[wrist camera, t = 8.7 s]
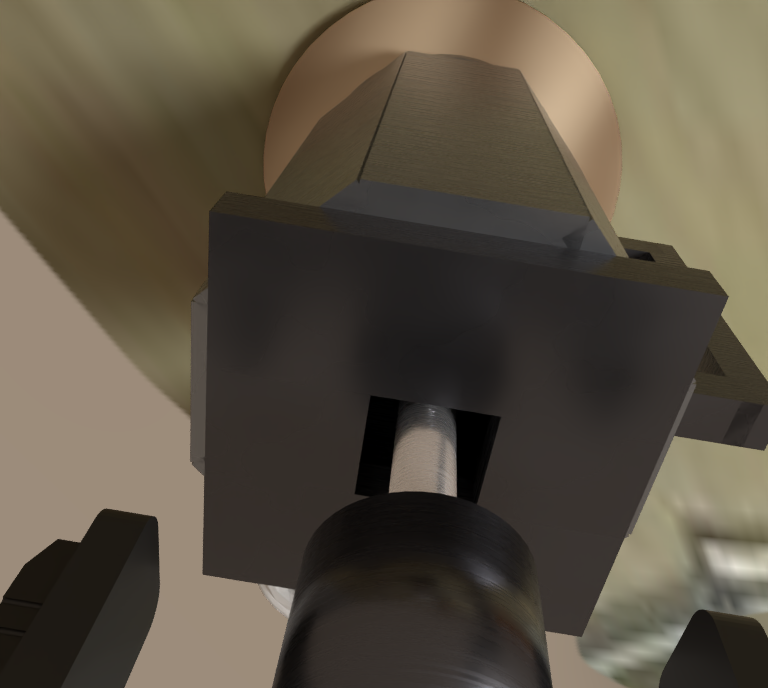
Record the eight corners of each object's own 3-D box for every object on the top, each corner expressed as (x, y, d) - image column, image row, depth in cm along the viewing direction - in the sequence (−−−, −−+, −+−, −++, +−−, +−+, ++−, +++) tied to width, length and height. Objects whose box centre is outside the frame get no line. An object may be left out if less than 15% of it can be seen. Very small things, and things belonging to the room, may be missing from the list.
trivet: (669, 18, 25) (675, 20, 25) (563, 352, 32) (566, 362, 32) (279, -46, 25) (274, -45, 25) (258, 302, 32) (254, 310, 32)
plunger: (555, 129, 24) (825, 642, 7) (509, 308, 27) (608, 953, 10) (354, 96, 24) (104, 523, 7) (333, 279, 27) (131, 873, 10)
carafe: (678, 91, 26) (978, 300, 11) (600, 322, 31) (738, 681, 16) (331, 33, 26) (171, 168, 11) (308, 273, 31) (175, 588, 16)
